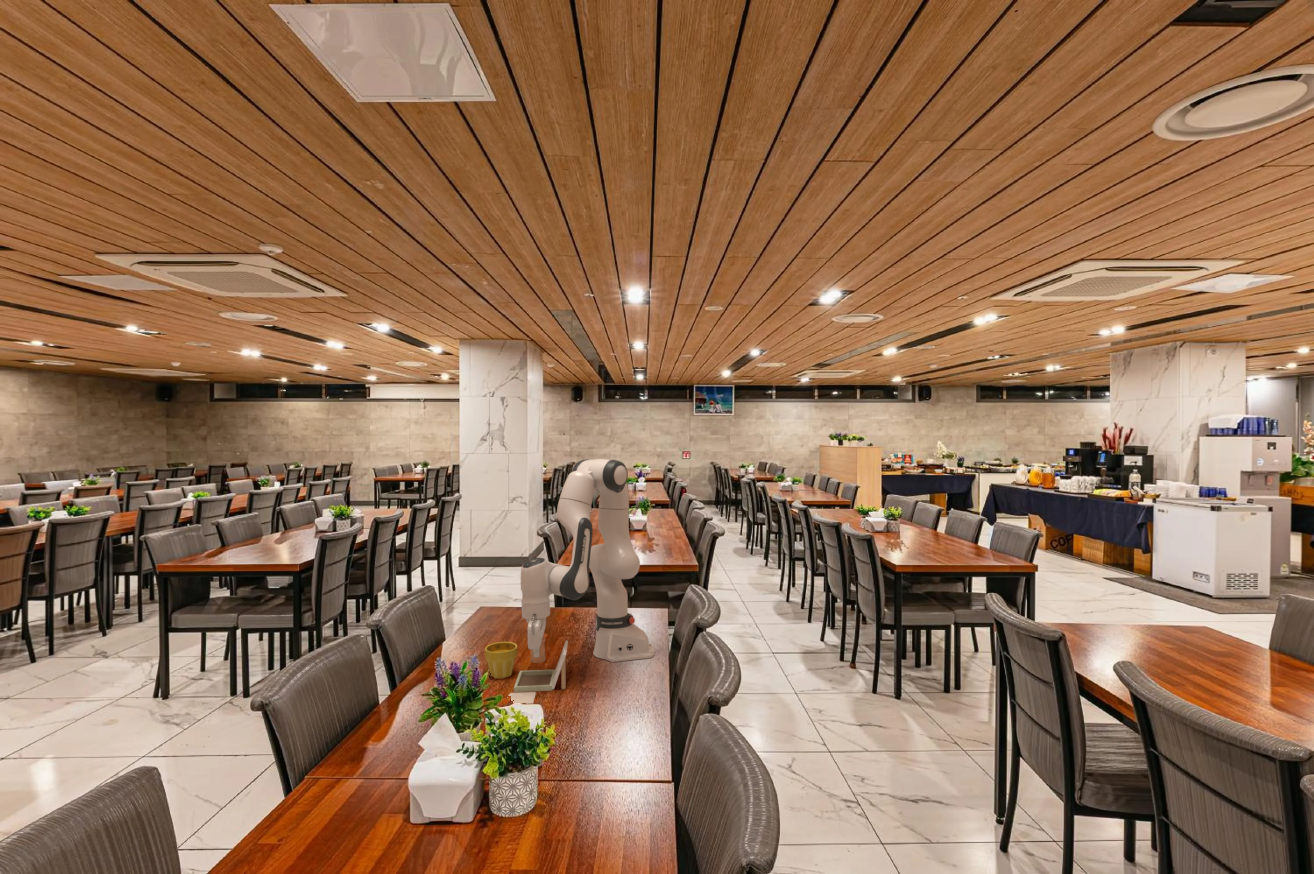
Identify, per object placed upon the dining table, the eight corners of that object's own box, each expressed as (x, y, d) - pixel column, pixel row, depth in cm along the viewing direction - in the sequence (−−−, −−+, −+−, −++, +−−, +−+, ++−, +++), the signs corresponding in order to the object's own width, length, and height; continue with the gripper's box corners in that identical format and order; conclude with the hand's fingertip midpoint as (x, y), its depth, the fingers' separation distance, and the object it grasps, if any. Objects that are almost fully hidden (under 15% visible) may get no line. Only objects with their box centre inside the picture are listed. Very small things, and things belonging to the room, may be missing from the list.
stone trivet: (536, 694, 186) (535, 691, 186) (533, 705, 178) (533, 702, 178) (509, 695, 185) (509, 692, 185) (505, 706, 177) (505, 704, 177)
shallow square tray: (555, 675, 201) (555, 669, 201) (552, 692, 187) (552, 685, 187) (519, 676, 200) (519, 670, 200) (513, 693, 186) (513, 687, 186)
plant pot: (509, 683, 194) (508, 652, 194) (479, 681, 196) (479, 650, 197) (522, 671, 205) (522, 642, 205) (494, 669, 207) (493, 640, 207)
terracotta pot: (546, 656, 197) (545, 635, 197) (545, 662, 192) (544, 640, 192) (530, 657, 197) (530, 636, 196) (529, 663, 192) (528, 641, 192)
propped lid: (568, 674, 201) (568, 639, 201) (566, 691, 188) (565, 654, 188) (554, 675, 201) (554, 640, 201) (551, 692, 187) (551, 654, 187)
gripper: (542, 619, 184) (544, 664, 184) (548, 600, 204) (550, 641, 205) (521, 621, 183) (523, 666, 184) (529, 601, 204) (531, 642, 204)
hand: (537, 653), depth 194 cm, fingers closed on terracotta pot, 4 cm apart
